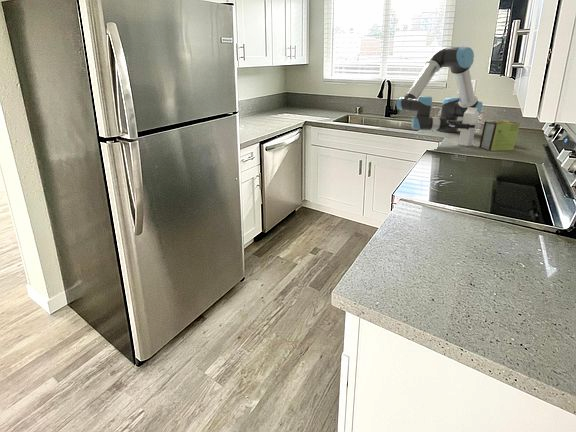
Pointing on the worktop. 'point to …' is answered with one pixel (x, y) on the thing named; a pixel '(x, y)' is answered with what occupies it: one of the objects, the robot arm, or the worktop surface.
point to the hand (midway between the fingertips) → (477, 125)
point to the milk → (468, 135)
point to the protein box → (499, 135)
